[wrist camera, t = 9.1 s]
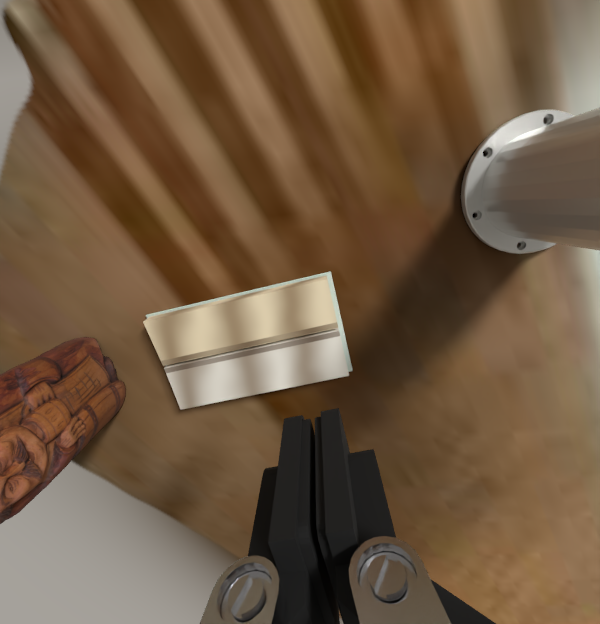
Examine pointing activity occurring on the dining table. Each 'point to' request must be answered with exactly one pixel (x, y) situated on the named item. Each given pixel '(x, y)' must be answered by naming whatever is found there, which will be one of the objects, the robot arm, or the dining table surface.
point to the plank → (243, 321)
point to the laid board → (258, 369)
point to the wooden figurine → (52, 416)
